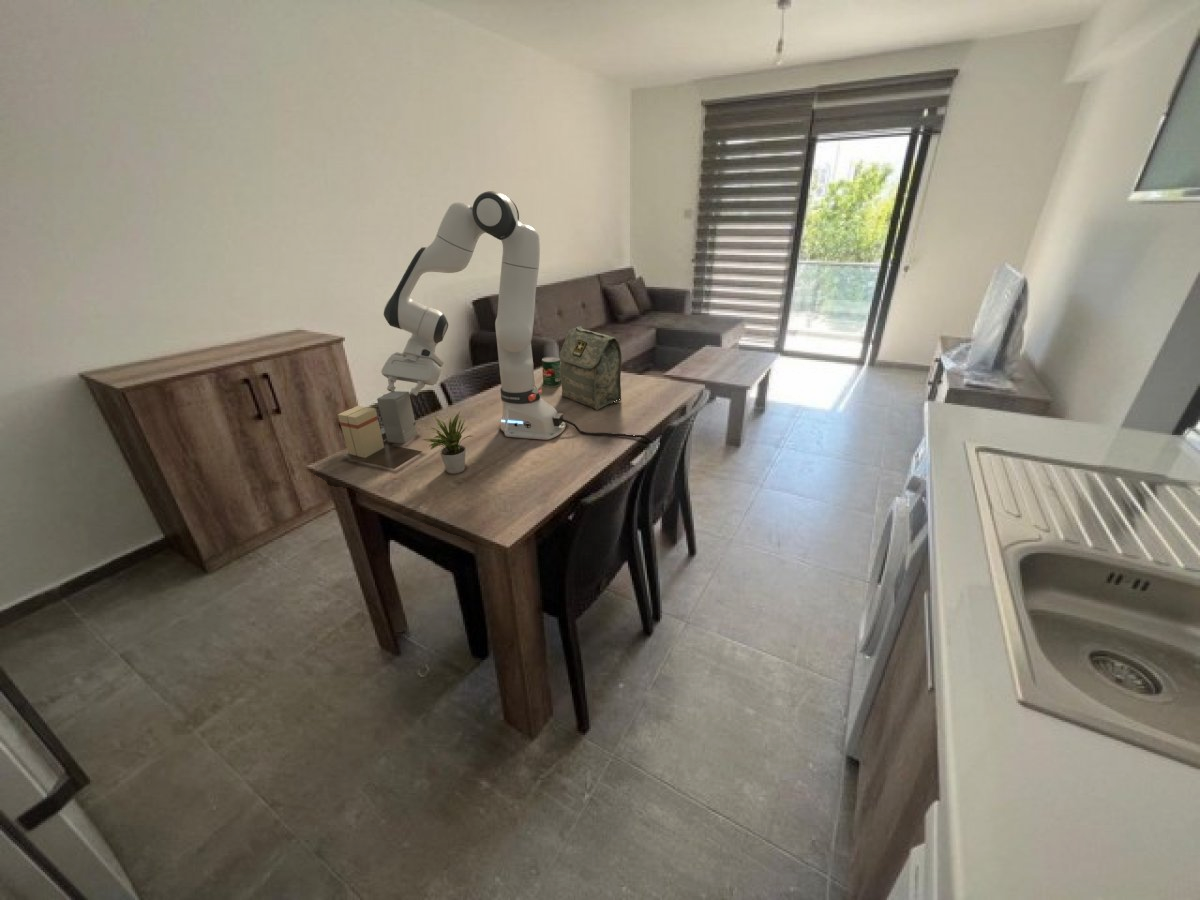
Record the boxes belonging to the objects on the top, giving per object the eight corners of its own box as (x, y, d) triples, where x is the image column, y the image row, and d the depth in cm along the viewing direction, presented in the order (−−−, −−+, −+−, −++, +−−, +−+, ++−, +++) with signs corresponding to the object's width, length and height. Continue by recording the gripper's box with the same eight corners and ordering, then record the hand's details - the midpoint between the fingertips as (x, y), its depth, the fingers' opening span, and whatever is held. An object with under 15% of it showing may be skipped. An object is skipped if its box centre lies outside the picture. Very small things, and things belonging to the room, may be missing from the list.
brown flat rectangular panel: (423, 454, 147) (423, 451, 146) (395, 472, 137) (394, 468, 136) (373, 444, 154) (372, 441, 153) (343, 460, 144) (342, 457, 143)
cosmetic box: (405, 446, 152) (395, 399, 145) (385, 444, 153) (374, 398, 146) (419, 435, 159) (411, 390, 152) (400, 434, 161) (391, 389, 154)
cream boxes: (384, 447, 149) (375, 408, 143) (365, 457, 143) (355, 417, 137) (367, 443, 151) (358, 405, 145) (348, 454, 145) (337, 414, 139)
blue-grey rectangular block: (404, 432, 162) (402, 423, 160) (382, 444, 154) (379, 435, 152) (395, 430, 163) (393, 422, 162) (372, 442, 155) (370, 433, 153)
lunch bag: (556, 397, 192) (553, 328, 180) (587, 388, 202) (586, 322, 189) (594, 412, 177) (593, 339, 165) (624, 402, 187) (626, 331, 174)
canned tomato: (541, 386, 204) (539, 361, 199) (545, 380, 211) (544, 356, 206) (559, 387, 203) (557, 361, 198) (563, 381, 210) (562, 356, 205)
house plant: (439, 455, 146) (431, 405, 139) (484, 456, 146) (478, 406, 139) (422, 479, 133) (412, 425, 126) (471, 479, 133) (464, 425, 126)
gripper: (386, 346, 157) (369, 384, 153) (437, 353, 150) (420, 392, 146) (399, 356, 163) (383, 392, 159) (448, 363, 156) (432, 401, 152)
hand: (401, 392), depth 153 cm, fingers open, 8 cm apart
